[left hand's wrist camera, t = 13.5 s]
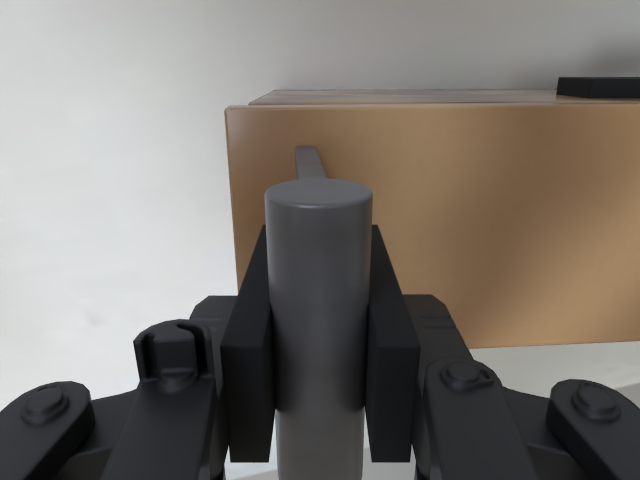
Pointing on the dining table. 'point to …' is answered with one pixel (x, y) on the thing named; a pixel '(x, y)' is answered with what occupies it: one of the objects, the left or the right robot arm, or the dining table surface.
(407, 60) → the dining table surface
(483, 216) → the lid
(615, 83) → the right robot arm
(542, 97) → the chest
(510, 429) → the left robot arm
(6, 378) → the dining table surface
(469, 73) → the dining table surface
